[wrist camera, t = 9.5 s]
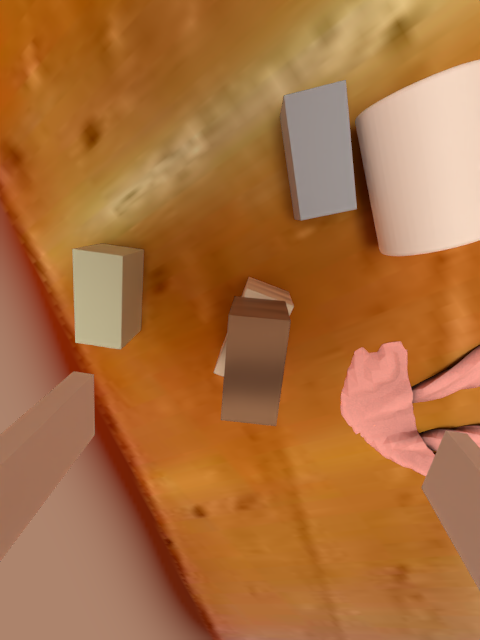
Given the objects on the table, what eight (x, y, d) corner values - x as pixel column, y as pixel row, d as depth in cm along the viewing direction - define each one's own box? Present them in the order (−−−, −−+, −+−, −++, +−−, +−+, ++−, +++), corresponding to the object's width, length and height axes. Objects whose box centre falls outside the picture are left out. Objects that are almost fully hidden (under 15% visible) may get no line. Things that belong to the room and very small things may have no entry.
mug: (366, 250, 29) (404, 263, 21) (342, 129, 26) (376, 94, 18) (513, 206, 27) (611, 203, 19) (503, 71, 24) (614, 6, 17)
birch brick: (249, 276, 30) (246, 288, 25) (288, 291, 30) (293, 306, 26) (220, 349, 33) (213, 373, 28) (257, 363, 33) (256, 388, 28)
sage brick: (102, 243, 30) (72, 248, 25) (144, 249, 30) (122, 256, 25) (102, 323, 33) (75, 342, 28) (141, 329, 33) (121, 349, 28)
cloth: (325, 336, 32) (330, 345, 30) (568, 297, 29) (594, 304, 27) (345, 495, 38) (351, 513, 36) (549, 476, 35) (569, 494, 33)
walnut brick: (234, 296, 26) (228, 314, 21) (285, 300, 25) (290, 320, 21) (227, 385, 28) (220, 420, 23) (273, 390, 28) (276, 426, 23)
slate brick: (279, 117, 26) (283, 95, 21) (330, 104, 26) (345, 79, 21) (294, 219, 28) (300, 220, 24) (340, 209, 28) (356, 209, 23)
